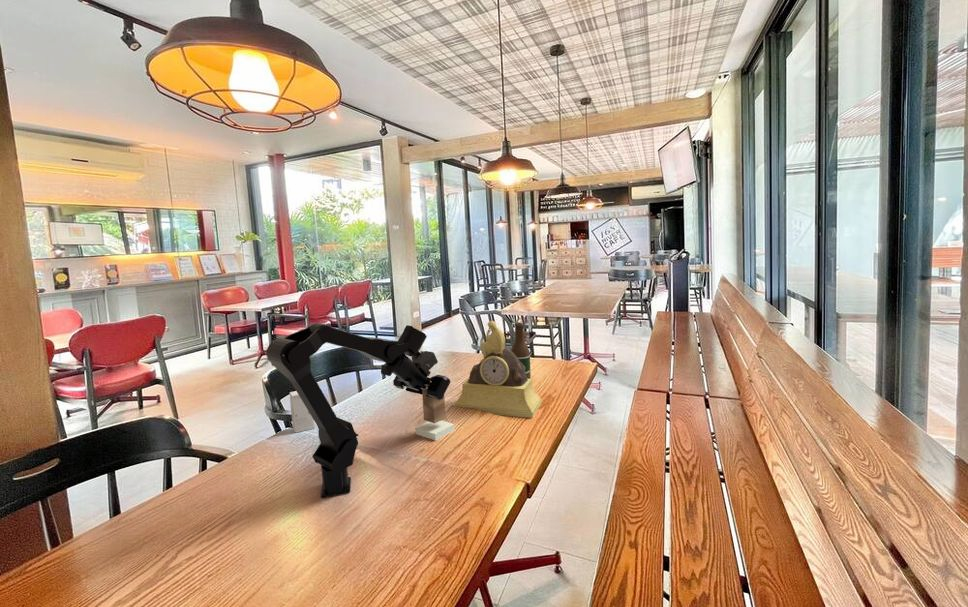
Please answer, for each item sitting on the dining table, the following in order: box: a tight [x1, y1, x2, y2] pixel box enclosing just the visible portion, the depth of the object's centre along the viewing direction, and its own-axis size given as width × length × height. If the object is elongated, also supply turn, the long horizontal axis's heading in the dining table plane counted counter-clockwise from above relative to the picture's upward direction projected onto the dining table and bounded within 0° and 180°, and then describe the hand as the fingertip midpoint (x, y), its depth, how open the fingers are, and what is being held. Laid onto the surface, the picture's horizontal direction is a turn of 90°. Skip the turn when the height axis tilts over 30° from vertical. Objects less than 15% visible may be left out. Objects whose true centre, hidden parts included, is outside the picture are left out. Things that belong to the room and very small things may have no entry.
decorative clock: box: [451, 320, 542, 419], centre depth 145 cm, size 28×13×30 cm, turn 70°
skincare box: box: [289, 390, 315, 433], centre depth 135 cm, size 6×4×12 cm
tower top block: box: [415, 420, 455, 441], centre depth 126 cm, size 8×8×2 cm
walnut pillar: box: [421, 387, 446, 423], centre depth 125 cm, size 4×4×10 cm
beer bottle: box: [510, 322, 532, 379], centre depth 171 cm, size 8×8×24 cm
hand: (436, 396), depth 126 cm, fingers closed on walnut pillar, 4 cm apart
